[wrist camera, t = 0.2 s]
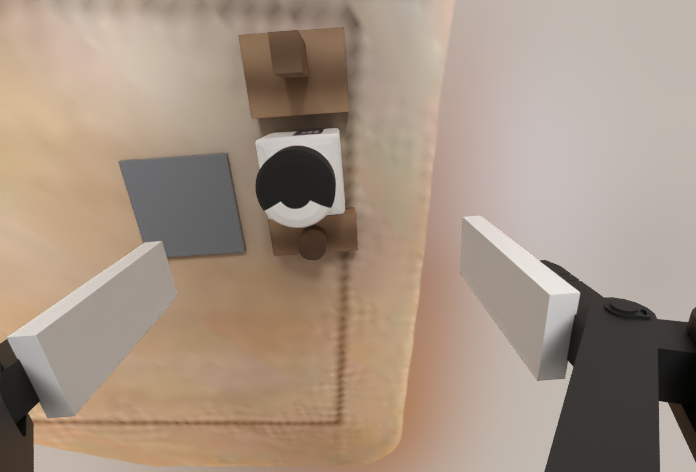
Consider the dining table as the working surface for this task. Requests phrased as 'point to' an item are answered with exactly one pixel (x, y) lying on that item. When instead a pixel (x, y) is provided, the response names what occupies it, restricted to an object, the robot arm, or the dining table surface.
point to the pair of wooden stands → (301, 99)
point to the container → (300, 176)
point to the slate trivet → (185, 203)
